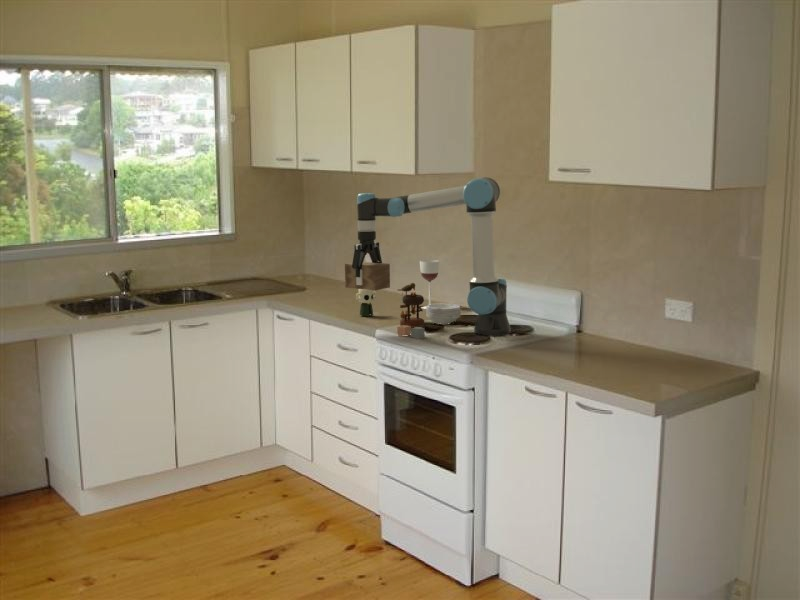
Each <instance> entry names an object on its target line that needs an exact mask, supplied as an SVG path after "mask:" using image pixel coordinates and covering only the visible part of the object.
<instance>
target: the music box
mask: <svg viewBox="0 0 800 600" xmlns="http://www.w3.org/2000/svg"><path fill="white" fill-rule="evenodd" d="M412 290H413V291H415V292H413V291H412ZM397 291H399V292H401V291H402V293H401V295H402V298H401V299H402V300H401V301H402V304H401V305H399V308H400V309H405V308H406V310H401V314H400V318H401V319H400V321H399V326H402V325H406V326H411V327H412V326H419V325H423V324H424V325H425V319H423V318H422V317H420V313H419V312H423V308H421V307H424V305H422V304H423V303H424V301H425V300H424V299H425V298H424V296H423V295H422V294H417V293H416V284H415V283H414V282H412V283H410V284H406V285H405V286H403V287H402V288H398V289H397ZM410 291H412V292H410ZM404 292H405V294H404ZM408 292H410V293H409V294H408ZM415 314H416V317H414V316H413V317H412V315H415Z"/></svg>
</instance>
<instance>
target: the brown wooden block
mask: <svg viewBox="0 0 800 600" xmlns="http://www.w3.org/2000/svg"><path fill="white" fill-rule="evenodd" d="M352 263H353V262H348V263H344V279H345V280H344V284H345V288H348V289H357V290H359V289H366V290H374V291H379V290H384V289H389V288H391V276H390V275H391V271H390V269H391V267H390V266H391V264H390V263H384V262H382V263H372V261H371V262H370V261H363V264H362V267H361V269H362V279H363V285H356V270H355V269H353V268H352Z"/></svg>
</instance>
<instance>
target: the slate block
mask: <svg viewBox="0 0 800 600" xmlns="http://www.w3.org/2000/svg"><path fill="white" fill-rule="evenodd" d="M425 330H426V329H425V327H424V328H422V327H414V328H411V335H410V338H411V337H414V338H413V339H417V340H418V339H423V338H425V336H426V335H425V334H426V333H425V332H426V331H425Z"/></svg>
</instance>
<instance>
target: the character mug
mask: <svg viewBox="0 0 800 600" xmlns="http://www.w3.org/2000/svg"><path fill="white" fill-rule="evenodd" d="M376 298H377V292H376V290H366V289H358V293H356V294H355V300H356V301H358V302H359V303H361V304H360V308H359V309H360V310H359V315H360V316H362V317H370V316H374V311H373V302H374V300H375V299H376Z"/></svg>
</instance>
